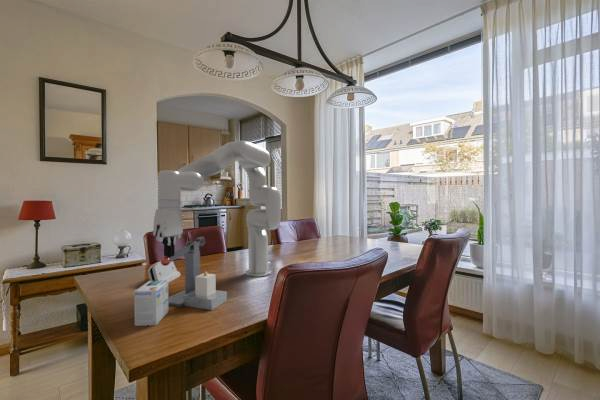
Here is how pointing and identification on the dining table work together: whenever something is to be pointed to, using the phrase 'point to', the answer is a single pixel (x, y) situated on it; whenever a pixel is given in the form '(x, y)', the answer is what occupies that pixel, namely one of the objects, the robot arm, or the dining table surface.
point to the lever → (181, 252)
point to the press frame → (188, 294)
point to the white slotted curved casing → (163, 272)
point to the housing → (205, 284)
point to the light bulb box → (151, 303)
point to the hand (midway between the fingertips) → (169, 255)
